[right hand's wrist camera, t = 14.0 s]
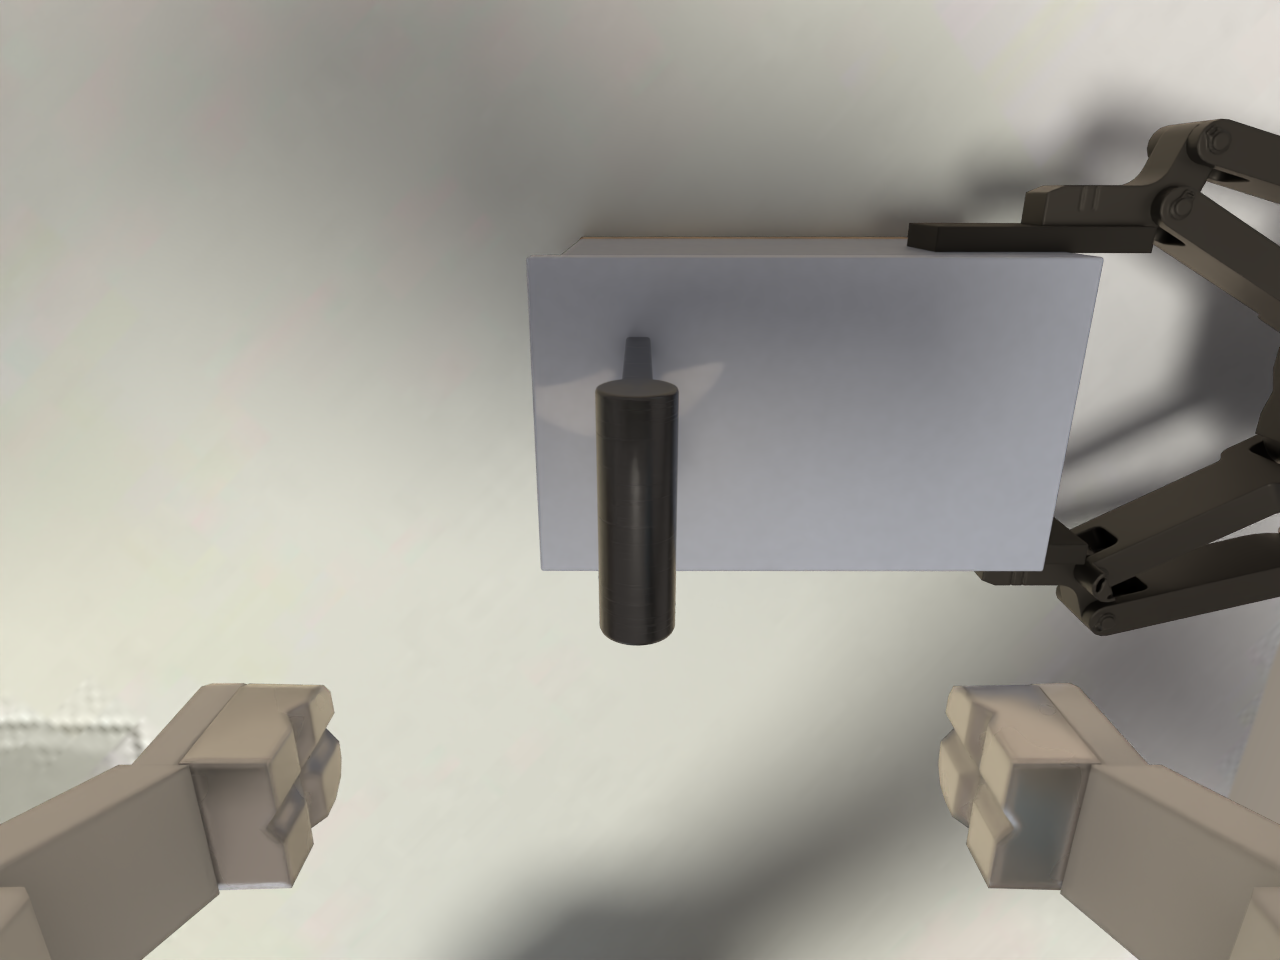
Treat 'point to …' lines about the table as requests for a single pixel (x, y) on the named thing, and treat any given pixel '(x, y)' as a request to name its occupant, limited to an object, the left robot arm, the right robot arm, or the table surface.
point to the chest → (761, 246)
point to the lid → (798, 415)
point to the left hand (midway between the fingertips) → (902, 398)
